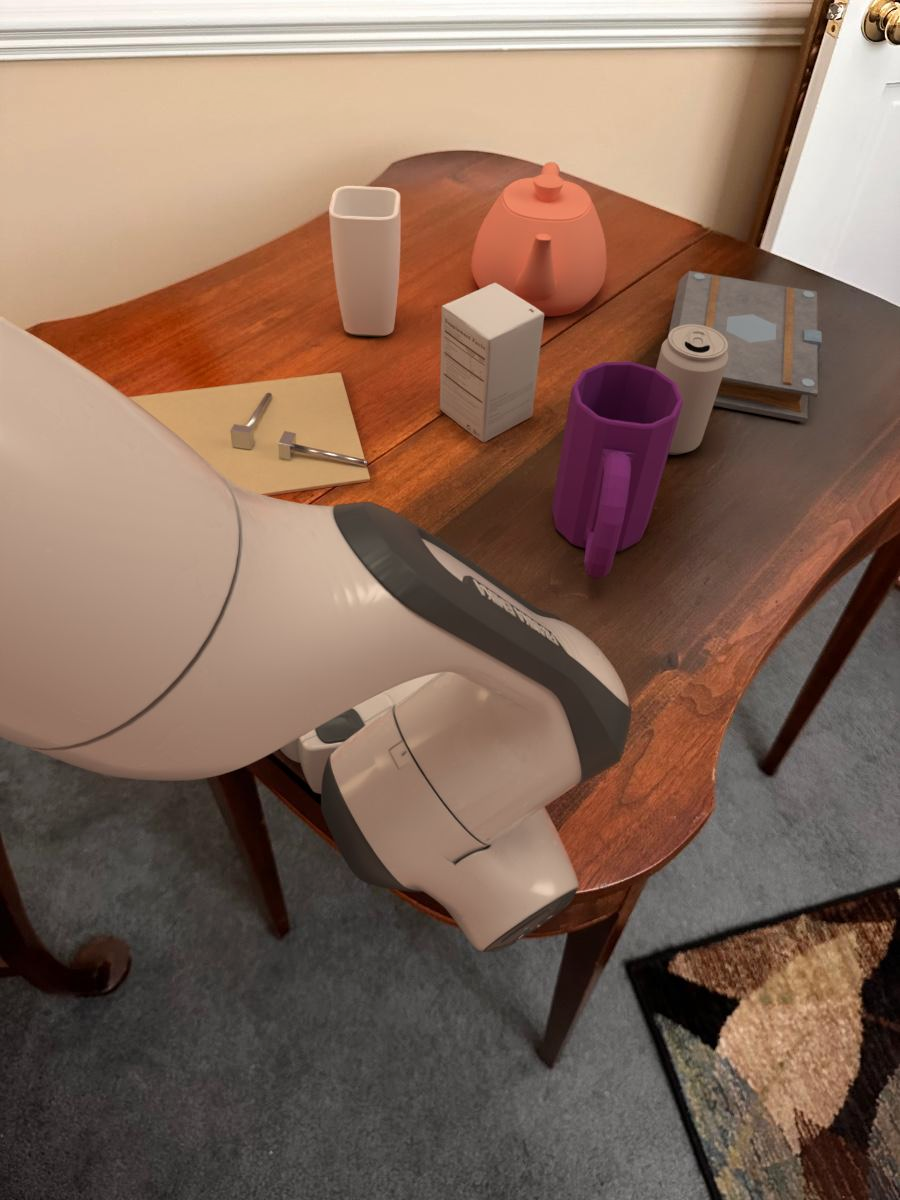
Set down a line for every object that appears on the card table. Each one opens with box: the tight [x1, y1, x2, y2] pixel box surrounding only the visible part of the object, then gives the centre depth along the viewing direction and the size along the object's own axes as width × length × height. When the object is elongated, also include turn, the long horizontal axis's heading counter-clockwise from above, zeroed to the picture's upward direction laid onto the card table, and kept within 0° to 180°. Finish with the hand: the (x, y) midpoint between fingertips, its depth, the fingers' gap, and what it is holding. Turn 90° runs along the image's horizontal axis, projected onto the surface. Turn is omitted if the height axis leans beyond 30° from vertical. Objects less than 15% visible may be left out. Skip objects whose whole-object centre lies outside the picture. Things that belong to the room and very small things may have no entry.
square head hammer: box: [230, 392, 272, 450], centre depth 90 cm, size 2×2×9 cm
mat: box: [127, 371, 371, 497], centre depth 89 cm, size 24×18×1 cm
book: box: [667, 270, 823, 423], centre depth 100 cm, size 21×16×5 cm
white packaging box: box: [439, 283, 545, 444], centre depth 88 cm, size 7×7×13 cm
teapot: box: [470, 161, 608, 317], centre depth 105 cm, size 25×17×13 cm
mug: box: [551, 361, 683, 580], centre depth 75 cm, size 9×16×15 cm, turn 170°
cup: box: [328, 185, 402, 337], centre depth 98 cm, size 7×7×15 cm
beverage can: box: [655, 324, 728, 456], centre depth 87 cm, size 6×6×12 cm
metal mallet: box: [278, 431, 369, 467], centre depth 87 cm, size 2×2×9 cm
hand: (346, 591), depth 70 cm, fingers closed on tumbler, 6 cm apart
